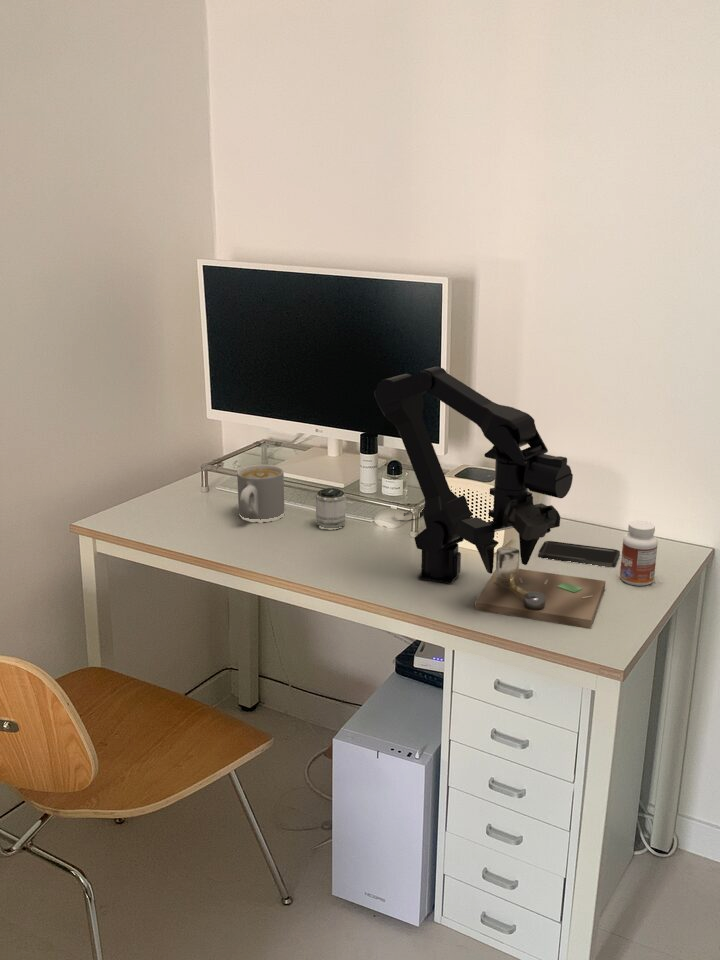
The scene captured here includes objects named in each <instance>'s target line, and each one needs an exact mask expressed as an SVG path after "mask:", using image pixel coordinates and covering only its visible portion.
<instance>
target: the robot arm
mask: <svg viewBox="0 0 720 960" xmlns="http://www.w3.org/2000/svg"><path fill="white" fill-rule="evenodd" d="M425 393H428V394H429V395H431V396H433V397H434V398H436V399H437V400H439V401H440V402H442V403H444V405H446V406H448V407H450V408H451V409H453V410H454V411H456V412H457V413H458V414H460V415H462V416H463V417H465V418H466V419H468V420H470V421H471V422H473V423H474V424H475V425H477V426H478V427H479V429H480V430H481V433H483V436H484V437H485V438H486V439H487V440H488V441H489V442H490V443H491V444H492V445H493V446H492V447H491V448H490V449H488V451H487V452H485V453H484V458H487V459H492V460H495V462H494V463H495V464H494V465H495V466H494V487H492V488H491V487H490V488H489V495H491V496H493V509H490V510H488V517H490V518H491V519H492V520H489V521H486V520H483V519H482V518H480V517H478V516H476V517H475V516H474V514H473V513H472V511H471V510H470V508H469V505H468V501H467V497H466V496H465V495H460V496H458V495H456V494H455V493H454V492H452V490H451V488H450V486H449V484H448V481H447V478H446V476H445V474H444V470H443V469H442V465H441V463H440V461H439V458H438V455H437V453H436V450H435V447H434V445H433V442H432V440H431V438H430V435H429V432H428V429H427V427H426V423H425V422H424V419H423V412H424V404H425V403H424V402H425V401H424V396H423V394H425ZM374 397H375V401H376V403H377V404H378V407H379V408H380V410H381V412H382V413H383V416H384V417H385V418H386V419H387V420H388V421H390V422H391V423H392V424H393V425H394V426H395V427H396V429H397V430H398V434H399V436H400V439H401V441H402V443H403V446H404V449H405V451H406V454H407V457H408V459H409V462H410V464H411V467H412V469H413V473H414V474H415V477H416V480H417V482H418V485H419V487H420V490H421V493H422V496H423V497H424V498H423V499H424V506H425V507H424V515H423V520H424V525H425V528H424V529H423V530H422V531H421V532H419V533H418V534H417V535H416V536H415V537H414V538H413V539H414V542H415V546H416V549H418V550H421V566H420V567H421V569H420V570H421V572H420V573H419V575H418V577H417V578H418V579H419V580H423V581H424V580H425V581H431V582H437V583H444V584H452V583H453V582H454V580H455V579H456V578H458V576H459V574H460V573H461V567H462V566H461V564H462V563H461V561H462V560H461V559H462V553H461V552H460V551H459V543H462V542H464V540H465V541H467V542H468V543H470V544H472V545H474V546H475V548H476V550H477V552H478V554H479V556H480V559H481V561H482V563H483V565H484V568H485V570H486V572H487V573H488V574H493V572H494V571H493V569H494V560H495V548H496V547H497V546H498V544H499V543H500V542H499V541H497V540H495V535H496V532H500V531H505V530H510V529H514V530H515V531H516V532H517V533H518V537H519V557H520V561H521V564H522V565H524V566H527V565H528V563H529V561H530V558H531V556H532V554H533V552H534V550H535V547H536V545H537V544H538V541H539V540H540V538H544V537H545V536H546V534H548V533H550V532H551V531H552V529H554V528H555V529H556V528H559V527H560V525H561V515H560V513H559V511H558V510H557V509H556V508H555V507H554V506H553V505H552V504H551V505H546V504H544V503H542V502H541V503H536V504H534V496H533V493H537V494H541V495H545V496H549V497H553V498H556V499H563V498H565V497H566V496H567V495H568V494H569V492H570V490H571V487H572V485H573V484H572V483H573V476H574V475H573V474H574V473H572V469H571V466H570V464H568V458H567V457H565V456H561V455H560V456H555V455H551V454H547V453H548V451H549V449H548V447H547V445H546V444H545V442H544V440H543V439H542V437H541V434H540V433H539V431H538V429H537V426H536V422H535V419H534V418H533V416H531V415H530V414H529V413H527V412H525V411H524V410H523V411H522V410H520V409H517V408H515V407H512V406H508V405H504V404H503V405H502V404H499V403H496V402H494V401H492V400H490V399H489V398H488V397H486V396H484V395H482V394H481V393H479V392H478V391H476V390H475V389H473V388H471V387H470V386H468V385H467V384H465V383H464V382H462V381H461V380H459V379H457V378H456V377H454V376H453V375H451V374H450V373H448V372H447V370H446V369H445V368H443V367H440V366H433V367H430V368H426V369H423V370H421V371H420V372H418V373H415V374H412V375H411V374H410V373H404V374H400V375H396V376H392V377H389V378H385V379H382V380H381V381H379V382H378V384H377V385H376V389H375V390H374ZM526 445H528V447H526V448H524V449H522V450H521V447H523V446H526ZM473 516H474V517H473Z"/></svg>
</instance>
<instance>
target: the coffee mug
mask: <svg viewBox="0 0 720 960" xmlns="http://www.w3.org/2000/svg"><path fill="white" fill-rule="evenodd" d="M284 474H285V473H284V470H283V468H281V467H279V466H275V465H270V464H254V465H253V464H252V465H248V466H245V467H242V468H240V469H238V470H237V474H236V475H237V498H238V502H237V503H238V515H239V514H240V515H241V516H242V517H244V518H249V519H260V520H261V519H269V518H274V517H278V516H280V515H281V514H283V513H284V511H285V486H284V485H285V483H284V482H285V478H284Z"/></svg>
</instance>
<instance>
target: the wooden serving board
mask: <svg viewBox="0 0 720 960" xmlns="http://www.w3.org/2000/svg"><path fill="white" fill-rule="evenodd" d="M491 574H492V575H491V576H490V578H489V580H488V581H487V583H486V584H485V586H484V587H483V589H482V591H481V592H480V594H479V595H478V597H477V598H476V600H475V601H474V611H478V612H485V613H492V614H499V615H504V616H510V617H517V618H523V619H529V620H530V619H531V620H536V621H542V622H550V623H555V624H561V625H568V626H573V627H574V626H575V627H580V628H586V629H591V628H592V625H593V623H594V619H595V617H596V614H597V612H598V609H599V606H600V604H599V603H601V600H602V598H603V595H604V593H603V592H605V590H604V589H606V580H600V579H594V578H587V577H586V578H585V577H580V576H572V575H566V574H558V573H553V572H544V571H538V570H531V569H523V568H519V571H518V584H517V585H516V586H518V587H520V588H521V589H523V590H525V591H526V592H539V593H542V594H544V595H545V596H546V598H545V607H544V608H541V609H530V608H527V607H526V606H525V605H524V598H523V597H521V596H520V595H518V594H516V593H515V592H513V591H511V590H510V589H508V588H506V587H504V586H500V585H498V584H496V582H495V579H494V578H493V577H494V576H495V575H496V569H495V570H494V571H493V572H492V573H491Z"/></svg>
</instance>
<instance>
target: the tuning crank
mask: <svg viewBox="0 0 720 960" xmlns="http://www.w3.org/2000/svg"><path fill="white" fill-rule="evenodd" d="M495 558H496V559H495V560H496V561H495V570H496V575H495V576H494V577H493V578H494V579H495V582H496V584H498V585H500V586H504V587H506V588H508V589H510V590H511V591H513V592H515V593H516V594H518V595H520V596H521V597H523V598H524V605H525V606H526V607H527V608H530V609H541V608H544V607H545V598H546V596H545V595H544V594H542V593H539V592H526V591H525V590H523V589H521V588H520V587H518V586H516V585H517V584H518V571H519V569H520V549H518V548H516V547H512V546H501V547H499V548H497V549H496V556H495Z"/></svg>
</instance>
